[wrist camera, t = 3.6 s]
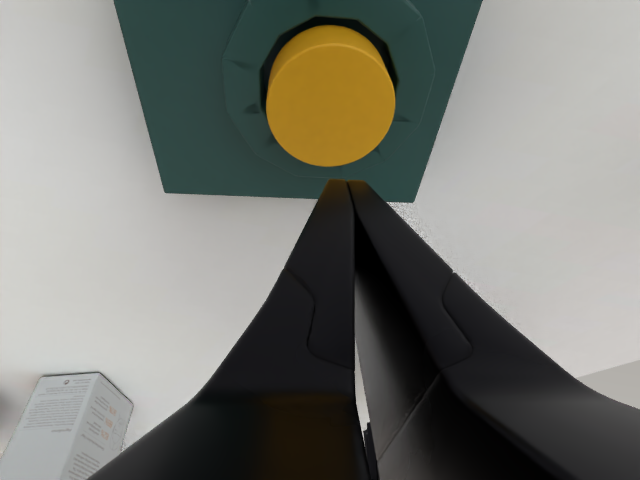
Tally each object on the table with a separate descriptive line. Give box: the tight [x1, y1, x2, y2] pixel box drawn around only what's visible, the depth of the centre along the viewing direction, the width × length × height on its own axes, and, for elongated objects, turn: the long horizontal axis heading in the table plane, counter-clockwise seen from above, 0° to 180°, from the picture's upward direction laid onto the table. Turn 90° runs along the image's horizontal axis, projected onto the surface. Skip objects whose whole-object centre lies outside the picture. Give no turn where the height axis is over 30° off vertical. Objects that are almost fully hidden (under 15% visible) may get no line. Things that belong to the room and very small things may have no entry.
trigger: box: [266, 25, 395, 167], centre depth 12 cm, size 4×4×2 cm
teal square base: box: [114, 0, 483, 203], centre depth 15 cm, size 10×12×4 cm
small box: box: [0, 373, 133, 480], centre depth 33 cm, size 8×6×10 cm
